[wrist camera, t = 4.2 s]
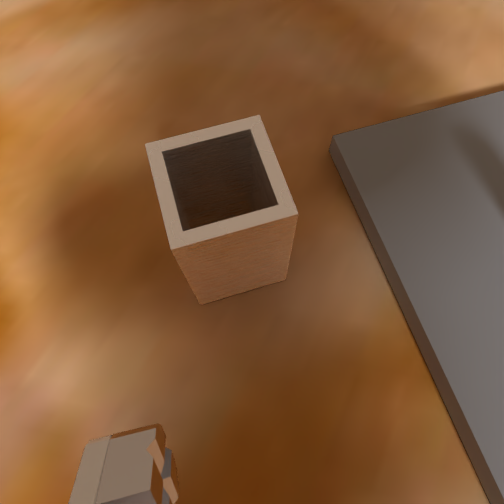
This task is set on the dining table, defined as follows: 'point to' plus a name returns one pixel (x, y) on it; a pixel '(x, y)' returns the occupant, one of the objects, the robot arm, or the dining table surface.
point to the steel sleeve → (225, 207)
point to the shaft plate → (443, 252)
